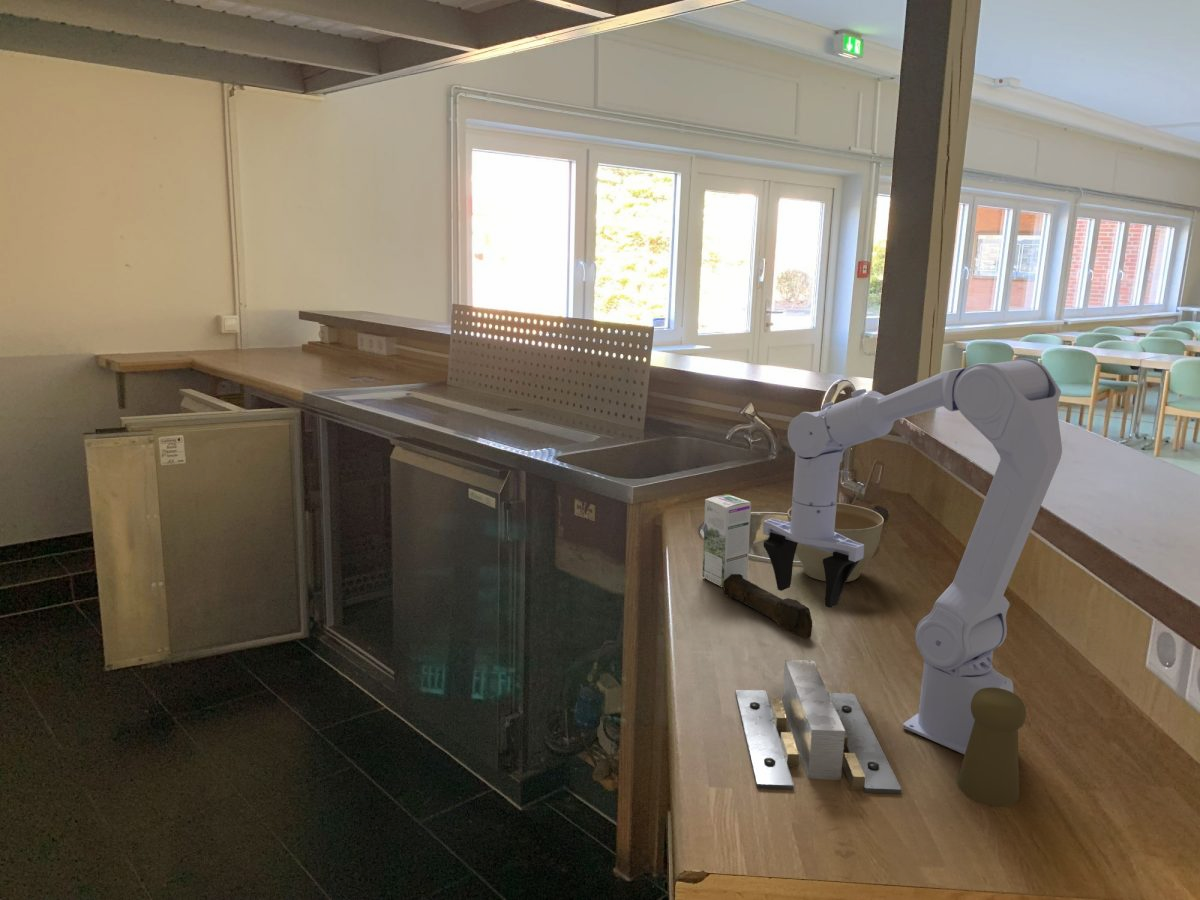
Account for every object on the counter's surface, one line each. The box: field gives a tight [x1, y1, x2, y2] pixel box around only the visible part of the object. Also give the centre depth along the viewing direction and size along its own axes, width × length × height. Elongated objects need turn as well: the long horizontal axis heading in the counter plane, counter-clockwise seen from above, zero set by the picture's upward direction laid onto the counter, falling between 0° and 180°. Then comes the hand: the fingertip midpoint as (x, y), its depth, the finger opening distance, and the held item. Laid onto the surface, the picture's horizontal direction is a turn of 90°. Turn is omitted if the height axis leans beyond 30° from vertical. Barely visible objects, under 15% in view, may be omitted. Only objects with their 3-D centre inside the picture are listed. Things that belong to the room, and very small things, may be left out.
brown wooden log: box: [723, 574, 813, 639], centre depth 133 cm, size 19×4×5 cm, turn 26°
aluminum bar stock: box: [781, 659, 845, 781], centre depth 99 cm, size 4×16×6 cm, turn 178°
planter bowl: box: [786, 502, 885, 583], centre depth 151 cm, size 16×16×11 cm
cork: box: [956, 687, 1027, 807], centre depth 90 cm, size 6×6×11 cm
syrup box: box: [701, 494, 752, 588], centre depth 146 cm, size 6×6×14 cm
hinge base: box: [735, 689, 903, 795], centre depth 100 cm, size 15×20×2 cm
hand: (807, 596), depth 117 cm, fingers open, 7 cm apart
